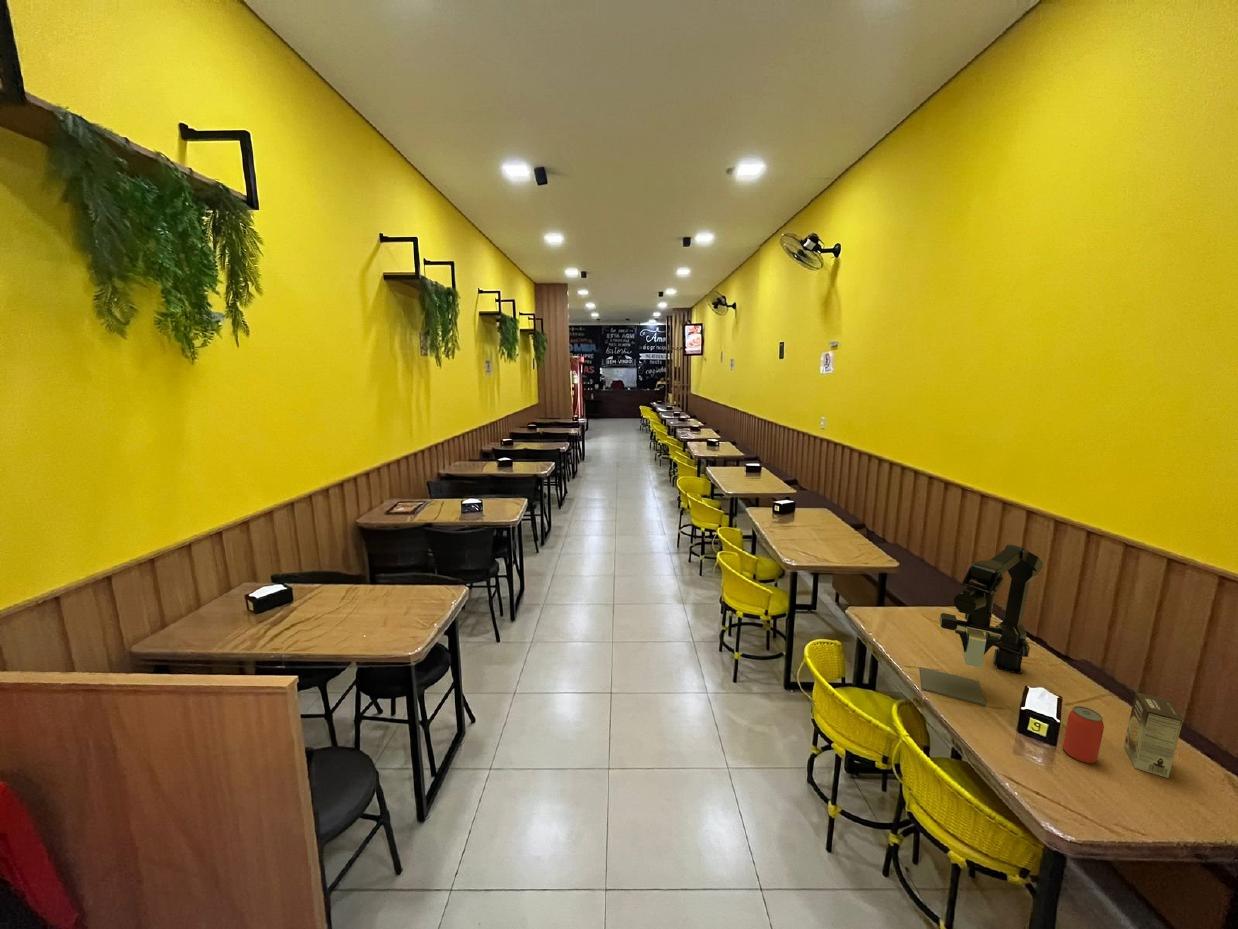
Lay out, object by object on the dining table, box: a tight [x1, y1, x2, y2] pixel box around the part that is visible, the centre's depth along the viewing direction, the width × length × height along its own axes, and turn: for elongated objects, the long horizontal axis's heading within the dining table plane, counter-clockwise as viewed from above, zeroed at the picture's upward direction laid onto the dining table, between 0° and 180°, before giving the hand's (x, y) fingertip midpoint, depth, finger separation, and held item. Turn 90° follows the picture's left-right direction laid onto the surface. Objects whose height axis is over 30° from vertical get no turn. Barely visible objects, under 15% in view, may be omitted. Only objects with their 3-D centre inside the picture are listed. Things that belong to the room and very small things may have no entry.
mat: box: [919, 666, 987, 707], centre depth 154 cm, size 16×13×1 cm
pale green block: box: [962, 628, 986, 669], centre depth 150 cm, size 4×6×9 cm, turn 152°
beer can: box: [1062, 705, 1105, 764], centre depth 126 cm, size 7×7×12 cm
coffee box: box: [1123, 692, 1184, 779], centre depth 123 cm, size 9×6×16 cm
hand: (973, 653), depth 150 cm, fingers closed on pale green block, 4 cm apart
